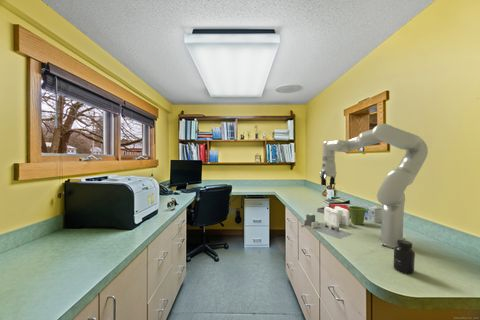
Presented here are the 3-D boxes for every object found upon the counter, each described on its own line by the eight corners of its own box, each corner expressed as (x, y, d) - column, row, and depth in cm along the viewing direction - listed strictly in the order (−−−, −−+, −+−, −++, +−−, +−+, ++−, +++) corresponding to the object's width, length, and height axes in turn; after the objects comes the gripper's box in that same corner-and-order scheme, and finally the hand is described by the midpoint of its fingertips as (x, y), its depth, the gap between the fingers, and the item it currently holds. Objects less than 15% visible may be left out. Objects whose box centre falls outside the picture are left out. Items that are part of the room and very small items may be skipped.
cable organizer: (350, 228, 138) (350, 210, 138) (336, 228, 136) (336, 211, 136) (336, 221, 152) (336, 205, 152) (323, 221, 151) (323, 205, 150)
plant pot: (362, 221, 153) (362, 206, 153) (369, 226, 141) (370, 210, 141) (345, 220, 155) (345, 205, 155) (351, 225, 143) (351, 209, 143)
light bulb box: (361, 218, 160) (362, 204, 160) (368, 218, 162) (369, 204, 162) (374, 223, 150) (375, 208, 149) (381, 222, 152) (382, 207, 151)
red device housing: (352, 215, 166) (352, 209, 166) (333, 214, 169) (333, 208, 169) (345, 210, 184) (345, 204, 184) (328, 209, 187) (328, 203, 187)
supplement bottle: (391, 270, 86) (392, 241, 86) (394, 264, 91) (395, 237, 91) (413, 277, 81) (414, 246, 81) (415, 270, 86) (416, 241, 86)
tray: (362, 213, 174) (363, 210, 174) (344, 218, 159) (344, 214, 159) (336, 207, 194) (336, 204, 194) (317, 211, 179) (317, 208, 179)
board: (353, 236, 123) (353, 228, 123) (339, 241, 116) (339, 232, 116) (314, 223, 146) (314, 216, 146) (301, 227, 138) (301, 220, 138)
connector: (315, 225, 137) (315, 214, 137) (311, 226, 135) (311, 215, 134) (310, 224, 140) (310, 213, 140) (306, 225, 138) (306, 213, 138)
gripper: (325, 159, 132) (325, 186, 132) (341, 159, 141) (340, 184, 141) (315, 159, 138) (315, 184, 138) (331, 159, 147) (330, 183, 148)
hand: (327, 184), depth 140 cm, fingers open, 9 cm apart
